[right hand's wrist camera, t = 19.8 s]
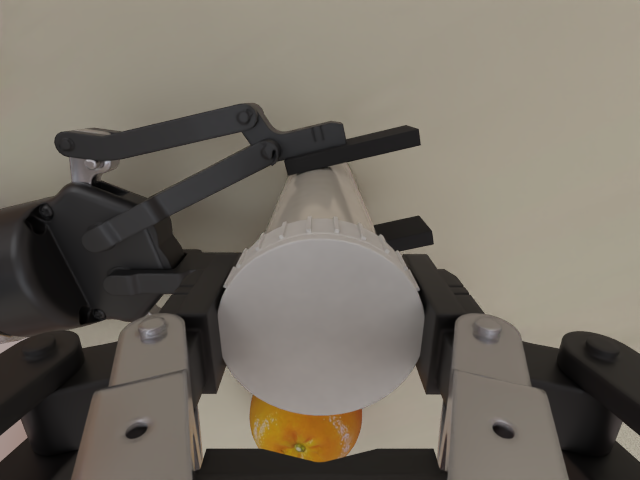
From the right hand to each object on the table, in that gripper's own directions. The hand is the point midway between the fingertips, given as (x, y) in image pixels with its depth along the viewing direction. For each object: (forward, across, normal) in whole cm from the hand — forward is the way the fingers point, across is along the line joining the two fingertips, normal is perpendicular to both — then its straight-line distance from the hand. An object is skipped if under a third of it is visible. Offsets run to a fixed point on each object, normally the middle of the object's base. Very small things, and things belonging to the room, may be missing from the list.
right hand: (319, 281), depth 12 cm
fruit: (+15, +1, +18) cm, 23 cm away
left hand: (+9, -5, -1) cm, 10 cm away
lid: (-2, 0, 0) cm, 2 cm away
